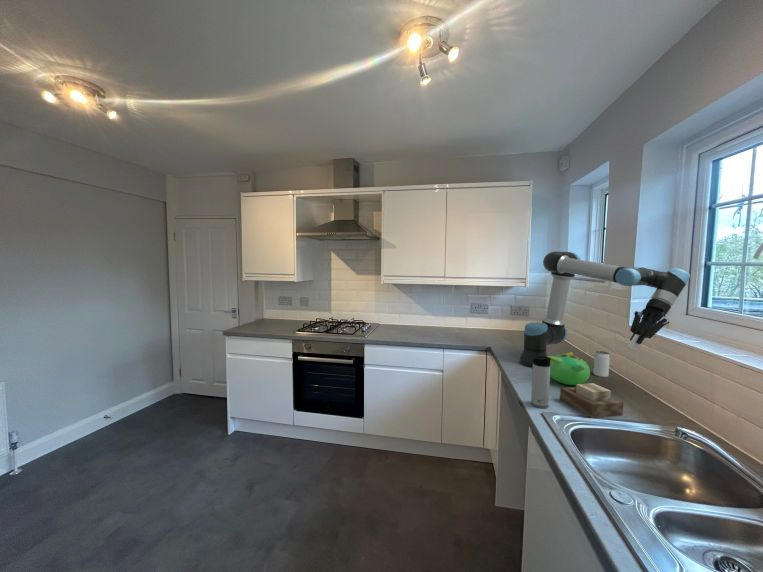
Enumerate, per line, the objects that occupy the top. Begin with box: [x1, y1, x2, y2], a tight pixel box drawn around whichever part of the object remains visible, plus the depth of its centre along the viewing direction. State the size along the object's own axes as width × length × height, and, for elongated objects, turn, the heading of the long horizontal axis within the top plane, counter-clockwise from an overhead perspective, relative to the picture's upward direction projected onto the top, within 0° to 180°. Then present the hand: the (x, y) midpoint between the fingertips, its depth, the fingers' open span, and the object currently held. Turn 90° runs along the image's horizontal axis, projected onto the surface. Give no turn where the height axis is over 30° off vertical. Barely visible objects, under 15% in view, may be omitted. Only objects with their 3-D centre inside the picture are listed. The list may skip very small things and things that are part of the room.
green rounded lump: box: [547, 351, 591, 386], centre depth 149 cm, size 18×17×15 cm
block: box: [575, 382, 612, 402], centre depth 125 cm, size 8×8×8 cm
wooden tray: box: [559, 386, 624, 419], centre depth 125 cm, size 14×16×5 cm
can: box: [593, 350, 611, 378], centre depth 162 cm, size 6×6×12 cm
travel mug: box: [530, 356, 551, 409], centre depth 125 cm, size 6×7×20 cm
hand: (630, 348), depth 134 cm, fingers closed
